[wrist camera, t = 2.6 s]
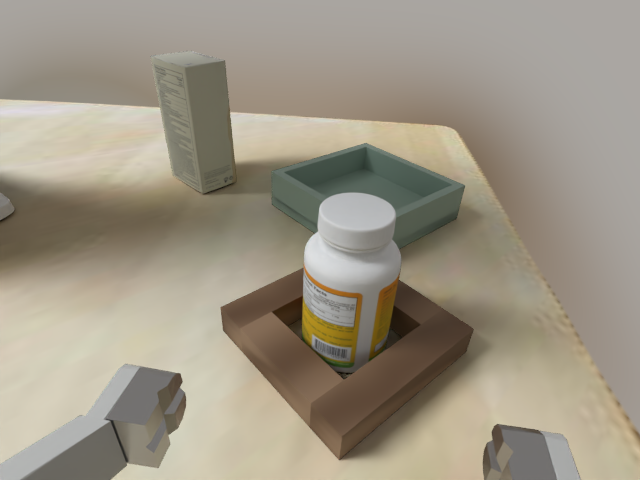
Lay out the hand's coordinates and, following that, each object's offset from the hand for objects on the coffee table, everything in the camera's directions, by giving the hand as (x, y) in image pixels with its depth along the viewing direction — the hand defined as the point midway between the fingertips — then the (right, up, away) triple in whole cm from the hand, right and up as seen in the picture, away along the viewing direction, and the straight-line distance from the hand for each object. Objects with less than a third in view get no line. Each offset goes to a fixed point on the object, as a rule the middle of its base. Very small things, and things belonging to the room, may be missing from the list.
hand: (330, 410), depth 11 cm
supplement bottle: (+1, -2, +16) cm, 17 cm away
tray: (+4, +7, +30) cm, 31 cm away
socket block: (+1, -2, +16) cm, 16 cm away
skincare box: (-13, +11, +35) cm, 38 cm away
